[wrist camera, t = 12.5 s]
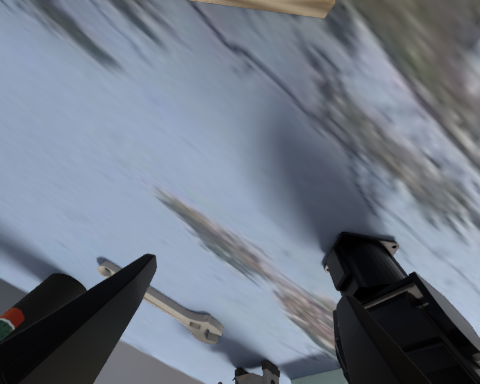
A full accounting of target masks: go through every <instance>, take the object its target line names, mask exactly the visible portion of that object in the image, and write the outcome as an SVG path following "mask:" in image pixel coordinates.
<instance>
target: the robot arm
mask: <svg viewBox="0 0 480 384" xmlns="http://www.w3.org/2000/svg"><path fill="white" fill-rule="evenodd" d="M344 236H346V237H344ZM393 245H394V246H393ZM398 248H399V245H398V244H397V242H395V241H390V240H385V239H380V238H375V237H370V236H364V235H359V234H354V233H349V232H342V233H341V234H340V236H339V238H338V240H337V242H336V244H335V246H334V247H333V248H332V249H331V251H330V253H329V256H328V258H327V260H326V264H325V266H324V270H325V272H327V273H330V275H331V278H332V280H333V283H334V286H335V288H336V290H337V291H340V293H341V296H342V297H341V299H340V301H339V302H338V304H337V309H336V310H334V311H333V319H334V335H335V349H336V355H337V359H338V361H339V363H340V366H341V368H342V370H343V375H344V377H345V379H346V380H347V382H348V384H480V338H479V336H478V335H477V333H476V332H475V330H474V329H473V327H472V326H471V324H470V323H469V322H468V321H467V320H466V319H465V318H464V317H463V316H462V315H461V314H460V313H459V311H458V310H457V309H456V308H455V307H454V306H453V305H452V304H451V303H450V302H449V301H448V300H447V299H446V298H445V297H444V296H443V295H442V294H441V293H440V292H438V291H437V290H436V289H435V288H434V287H433V286H431V285H430V284H429V283H428V282H427V281H425V280H424V279H423V278H422V277H421V276H420V275H418V274H417V273H416V272H413V273H411V274H409V276H408V275H407V274H406V272H405V271H404V270H403V268H402V267H401V266H400V265H399V263H398V262H397V261H396V260H395V258H394V257H393V255H394V254H395V252H396V251H397V249H398ZM156 269H157V263H156V256H155V255H153V254H145V255H143V256H142V257H140V258H139V259H137V260H135V261H134V262H132V263H131V264H129V265H127V266H126V267H124V268H123V269H121V270H119V271H118V272H116V273H115V274H113V275H111V276H110V277H108V278H107V279H105V280H103V281H102V282H100V283H99V284H97V285H96V286H94V287H92V288H91V289H89V290H88V291H86V292H84V293H83V294H81V295H80V296H78V297H76V298H75V299H73V300H72V301H70V302H68V303H67V304H65V305H64V306H62V307H60V308H59V310H56V311H54V312H52V313H51V314H49V315H48V316H46V317H44V318H43V319H41V320H39V321H38V322H36V323H34V324H33V325H31V326H30V327H28V328H26V329H25V330H23V331H21V332H19V333H18V334H16V335H14V336H12V337H11V338H9V339H7V340H5V341H4V342H2V343H0V384H93V383H94V381H95V379H96V378H97V376H98V375H99V373H100V371H101V369H102V368H103V366H104V364H105V363H106V361H107V359H108V358H109V356H110V354H111V353H112V351H113V349H114V348H115V346H116V344H117V342H118V341H119V339H120V337H121V336H122V334H123V332H124V331H125V329H126V327H127V326H128V324H129V322H130V321H131V319H132V317H133V315H134V314H135V312H136V310H137V309H138V307H139V305H140V303H141V301H142V299H143V297H144V295H145V293H146V291H147V289H148V287H149V285H150V282H151V280H152V278H153V276H154V274H155V272H156Z"/></svg>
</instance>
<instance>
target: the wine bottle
mask: <svg viewBox="0 0 480 384" xmlns="http://www.w3.org/2000/svg"><path fill="white" fill-rule="evenodd" d="M86 291H87V290H86V288H85V287H84V286H83V285H82V284H81V283H80V282H78V281H77V280H76V279H74V278H72V277H70V276H67V275H64V274H58V273H57V274H52V275H51V276H49V277H48V278H47V279H46V280H44V281H43V282H42V283H41V284H40V285H38V286H37V287H36V288H35V289H34V290H32V291H31V292H30V293H29V294H27V295H26V296H25V297H24V298H23V299H21V300H20V301H19V302H18V303H16V304H15V305H14V306H13V307H12V308H10V309H9V310H8V311H7V312H6V313H4V314H3V315H2V316H1V317H0V343H2V342H4V341H5V340H7V339H9V338H11V337H12V336H14V335H16V334H18V333H19V332H21V331H23V330H25V329H26V328H28V327H30V326H31V325H33V324H34V323H36V322H38V321H39V320H41V319H43V318H44V317H46V316H48V315H49V314H51V313H52V312H54V311H56V310H59V308H60V307H62V306H64V305H65V304H67V303H68V302H70V301H72V300H73V299H75V298H76V297H78V296H80V295H81V294H83V293H84V292H86Z"/></svg>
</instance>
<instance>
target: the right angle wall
mask: <svg viewBox="0 0 480 384" xmlns="http://www.w3.org/2000/svg"><path fill="white" fill-rule="evenodd" d="M291 384H348V382H347V380H346V379H345V377H344V375H343V370H342V368H340V369H336V370H332V371H327V372H323V373H319V374H314V375H310V376H306V377H301V378H297V379H293V380H291Z"/></svg>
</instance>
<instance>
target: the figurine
mask: <svg viewBox="0 0 480 384" xmlns="http://www.w3.org/2000/svg"><path fill="white" fill-rule="evenodd" d="M262 370H263V376H260V375H257V374H254V373H250V374H248V372H245V373H244V370H243V369H242V370H241V368H237V369H236V370H235V378H234V379H235V384H279V377H280V371H279V370H278V368H277V367H275V365H273V366H272V365H271V363H270V362H268V360H267V361H263V362H262ZM234 379H233V380H234ZM233 380H232V381H233ZM218 384H222V382H219V383H218Z"/></svg>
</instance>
